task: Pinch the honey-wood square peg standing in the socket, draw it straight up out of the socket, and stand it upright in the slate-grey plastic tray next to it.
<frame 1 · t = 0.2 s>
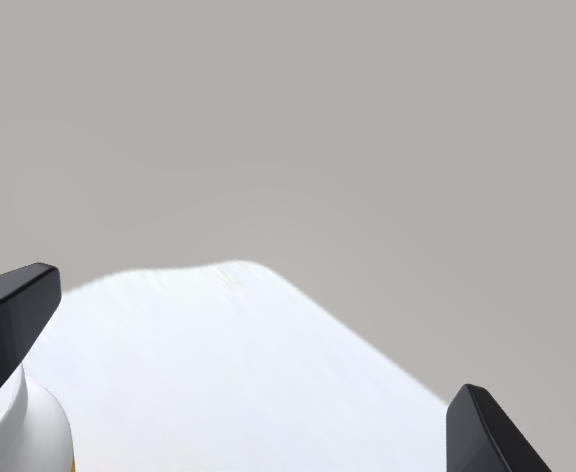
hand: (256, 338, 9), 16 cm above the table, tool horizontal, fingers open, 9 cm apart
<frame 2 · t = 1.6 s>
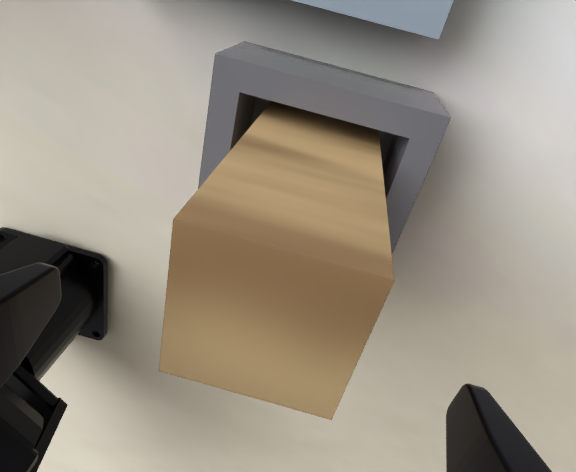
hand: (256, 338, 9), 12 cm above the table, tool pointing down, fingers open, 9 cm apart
socket: (313, 157, 19), on the table
peg: (312, 161, 19), point 1 cm above the table, touching socket
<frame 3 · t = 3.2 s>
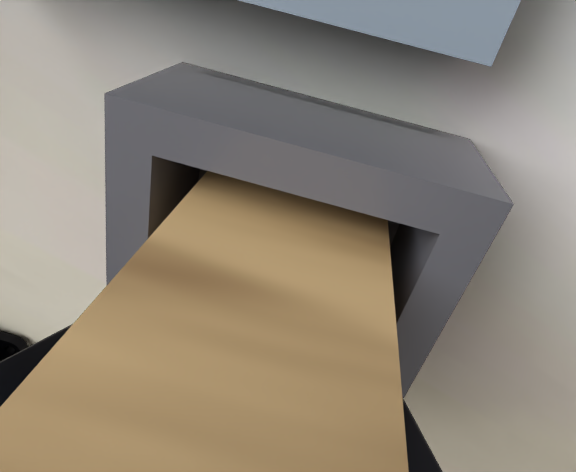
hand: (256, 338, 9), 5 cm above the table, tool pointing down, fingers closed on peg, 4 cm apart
socket: (292, 225, 14), on the table
peg: (289, 234, 13), point 1 cm above the table, touching socket, gripper
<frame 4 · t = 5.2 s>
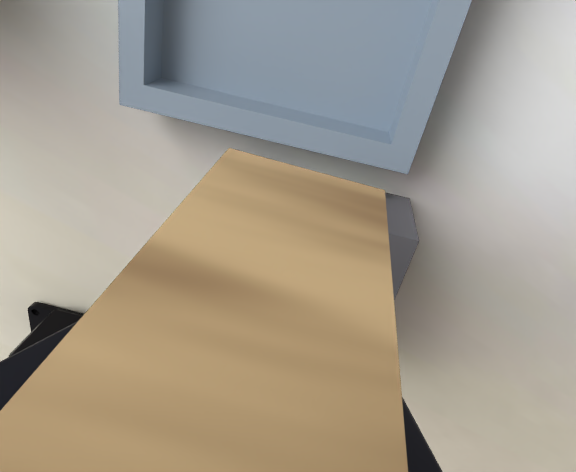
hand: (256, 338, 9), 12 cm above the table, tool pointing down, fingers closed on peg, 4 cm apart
socket: (308, 247, 22), on the table
peg: (289, 235, 13), point 8 cm above the table, touching gripper
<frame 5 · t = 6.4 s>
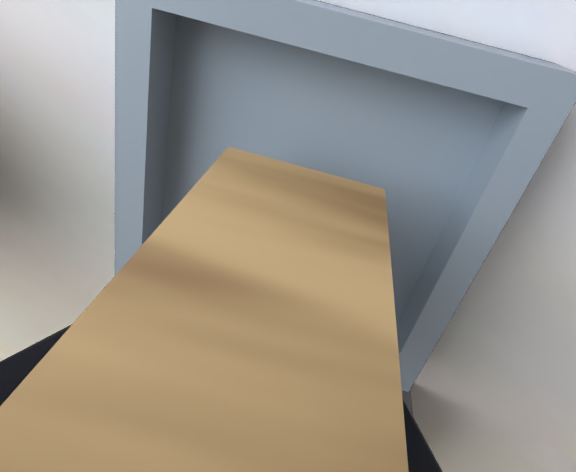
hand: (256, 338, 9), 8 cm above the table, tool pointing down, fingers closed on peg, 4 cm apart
peg: (288, 234, 13), point 3 cm above the table, touching gripper
tray: (304, 189, 16), on the table
when the fingers open (7 cm above the table, at t = 7.3 s): peg drops 1 cm, resting on tray.
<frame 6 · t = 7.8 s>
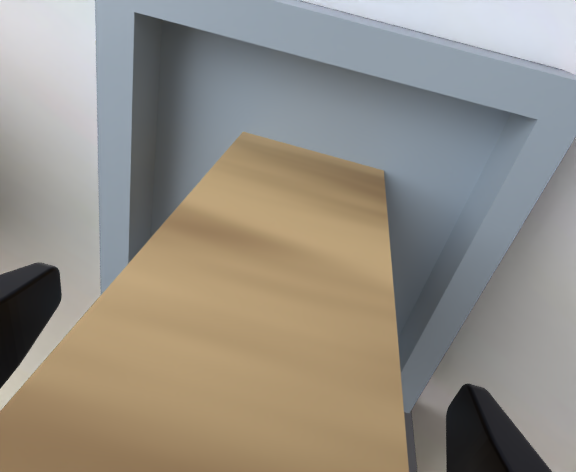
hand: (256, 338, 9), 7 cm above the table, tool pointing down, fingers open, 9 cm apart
socket: (302, 426, 21), on the table
peg: (296, 213, 14), point 1 cm above the table, touching tray
tray: (299, 201, 15), on the table
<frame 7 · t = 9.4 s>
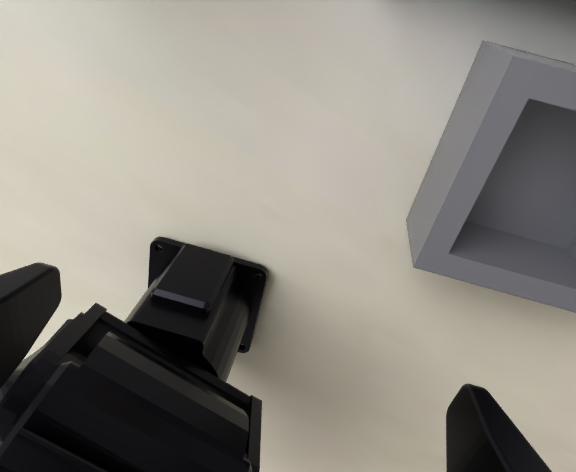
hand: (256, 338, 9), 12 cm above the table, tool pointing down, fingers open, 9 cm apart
socket: (532, 165, 18), on the table
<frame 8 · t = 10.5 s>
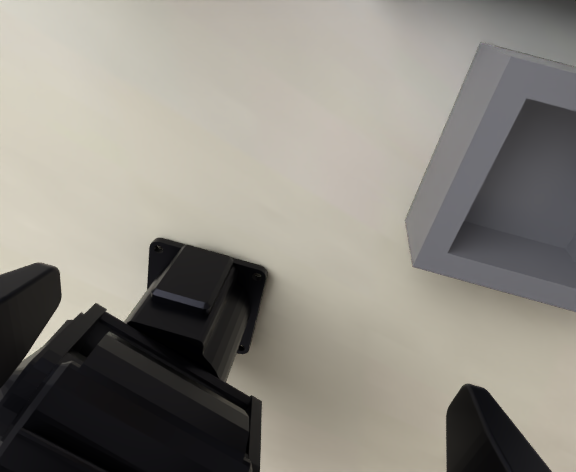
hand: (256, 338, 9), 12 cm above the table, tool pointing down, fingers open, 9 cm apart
socket: (529, 165, 18), on the table
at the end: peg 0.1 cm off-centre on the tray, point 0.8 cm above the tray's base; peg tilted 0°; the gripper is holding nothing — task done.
